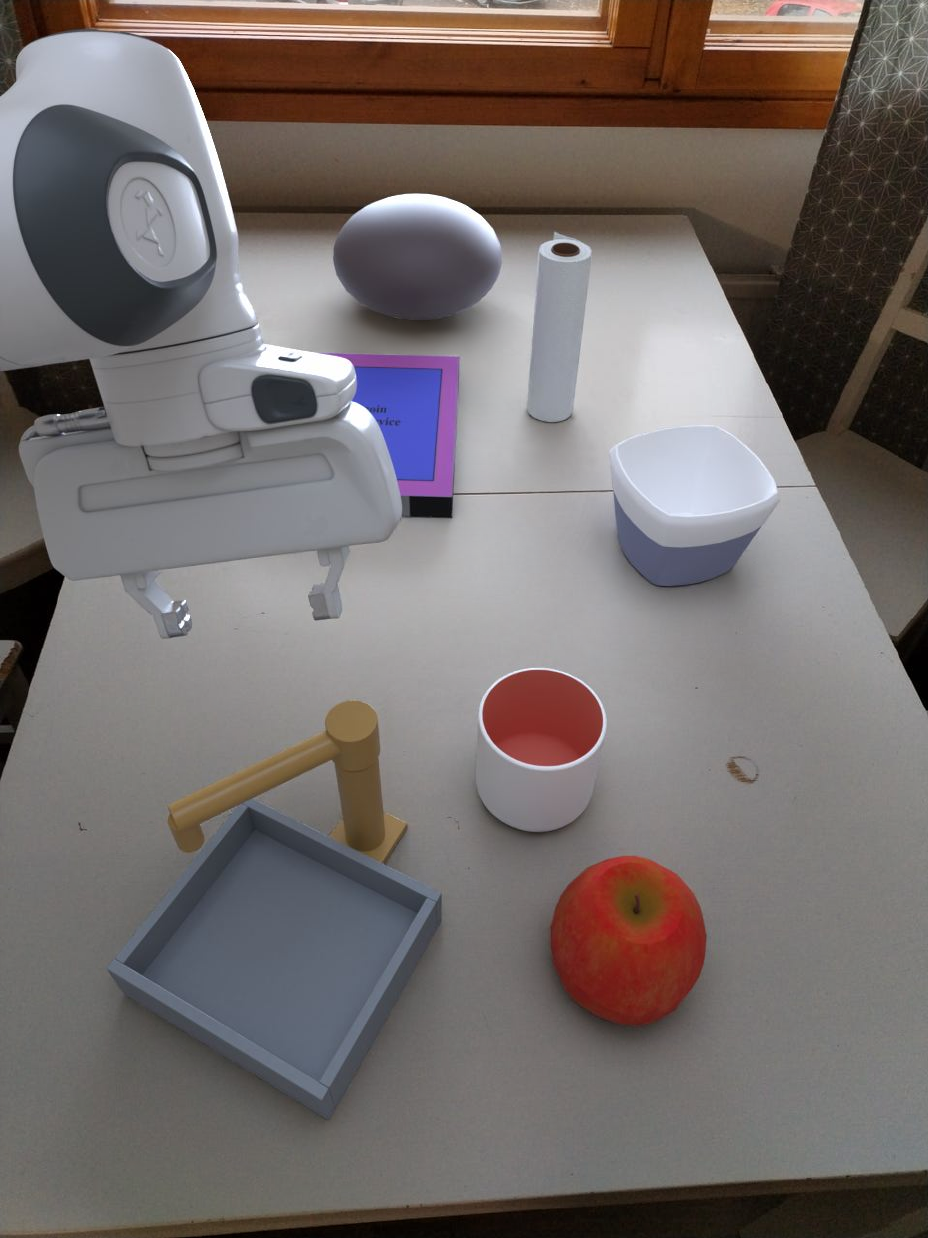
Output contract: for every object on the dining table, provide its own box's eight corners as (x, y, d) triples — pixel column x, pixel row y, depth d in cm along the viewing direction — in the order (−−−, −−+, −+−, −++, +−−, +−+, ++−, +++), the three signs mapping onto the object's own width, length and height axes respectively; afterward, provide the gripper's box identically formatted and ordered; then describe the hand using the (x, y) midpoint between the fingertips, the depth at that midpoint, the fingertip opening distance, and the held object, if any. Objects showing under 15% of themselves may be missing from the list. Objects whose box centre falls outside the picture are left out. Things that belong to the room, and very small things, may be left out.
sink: (328, 1121, 59) (321, 1100, 55) (122, 994, 64) (105, 968, 61) (442, 920, 68) (441, 893, 65) (254, 824, 74) (246, 794, 70)
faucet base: (376, 877, 71) (366, 794, 62) (323, 850, 72) (306, 765, 63) (408, 827, 74) (403, 742, 65) (356, 803, 75) (345, 716, 66)
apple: (675, 893, 70) (704, 821, 62) (707, 1037, 63) (744, 977, 55) (539, 897, 70) (551, 826, 62) (555, 1043, 62) (570, 983, 54)
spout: (187, 868, 59) (171, 831, 55) (168, 827, 61) (152, 789, 57) (390, 766, 64) (387, 727, 61) (366, 731, 66) (362, 692, 63)
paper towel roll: (562, 428, 113) (581, 264, 98) (519, 416, 115) (530, 253, 100) (582, 400, 118) (603, 239, 102) (540, 389, 120) (554, 229, 104)
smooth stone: (335, 349, 126) (325, 244, 115) (338, 269, 143) (329, 171, 132) (508, 344, 128) (514, 240, 117) (491, 265, 145) (494, 168, 134)
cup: (608, 767, 78) (625, 695, 71) (563, 858, 72) (577, 790, 65) (506, 723, 81) (512, 650, 74) (454, 807, 75) (455, 737, 68)
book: (263, 491, 99) (303, 351, 120) (267, 512, 101) (305, 371, 122) (452, 497, 99) (459, 356, 119) (452, 517, 101) (459, 376, 122)
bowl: (701, 495, 105) (722, 413, 97) (772, 581, 95) (803, 499, 87) (581, 520, 101) (593, 438, 93) (642, 613, 91) (661, 530, 83)
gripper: (-22, 434, 46) (66, 668, 52) (364, 377, 44) (412, 628, 50) (36, 408, 52) (109, 622, 57) (380, 358, 50) (421, 584, 55)
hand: (252, 624), depth 54 cm, fingers open, 8 cm apart
